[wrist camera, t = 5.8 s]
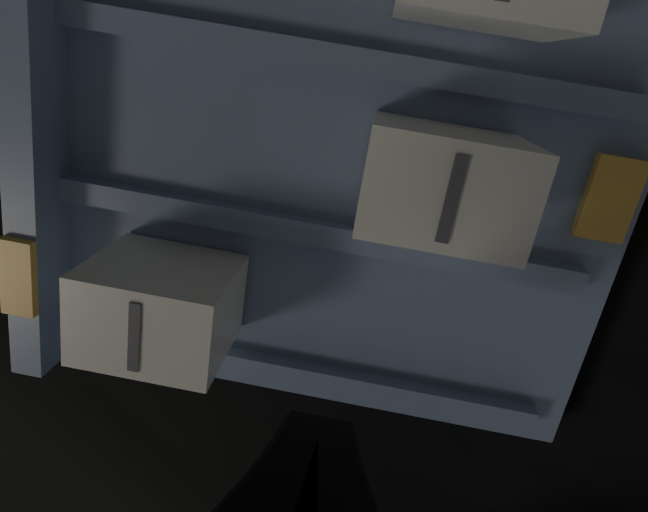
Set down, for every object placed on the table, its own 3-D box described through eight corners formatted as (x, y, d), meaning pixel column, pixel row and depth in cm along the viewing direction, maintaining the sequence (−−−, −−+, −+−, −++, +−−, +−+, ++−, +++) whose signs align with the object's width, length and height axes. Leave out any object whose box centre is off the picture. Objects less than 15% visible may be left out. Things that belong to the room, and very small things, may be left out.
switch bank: (541, 420, 19) (572, 488, 16) (63, 328, 20) (5, 376, 17) (745, -134, 13) (856, -194, 10) (52, -237, 14) (-41, -323, 11)
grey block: (241, 327, 18) (205, 395, 14) (125, 305, 18) (60, 366, 14) (249, 255, 17) (212, 308, 13) (126, 232, 17) (57, 278, 13)
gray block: (492, 223, 16) (525, 270, 12) (358, 199, 16) (351, 239, 12) (516, 135, 15) (561, 157, 11) (374, 110, 15) (373, 124, 11)
